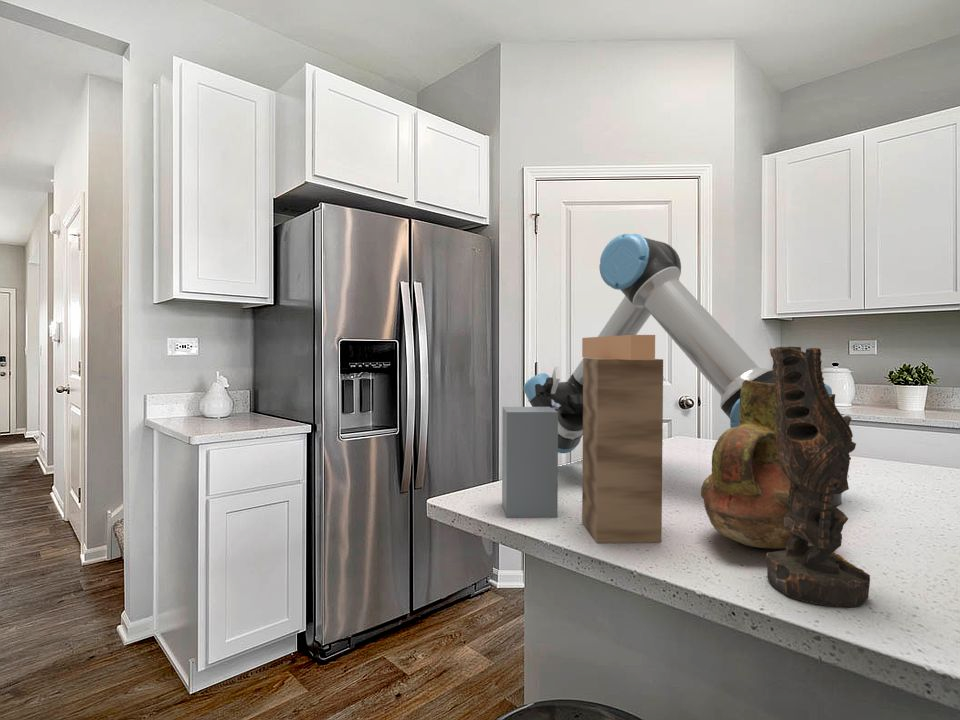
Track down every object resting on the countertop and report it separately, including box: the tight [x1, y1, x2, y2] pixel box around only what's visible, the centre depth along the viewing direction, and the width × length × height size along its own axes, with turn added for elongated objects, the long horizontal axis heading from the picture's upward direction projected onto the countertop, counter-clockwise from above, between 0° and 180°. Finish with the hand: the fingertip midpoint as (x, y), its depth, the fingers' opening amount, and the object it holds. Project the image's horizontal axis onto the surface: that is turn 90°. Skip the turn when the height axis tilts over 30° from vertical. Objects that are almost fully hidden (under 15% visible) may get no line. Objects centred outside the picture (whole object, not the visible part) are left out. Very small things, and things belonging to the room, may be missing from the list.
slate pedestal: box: [501, 406, 559, 519], centre depth 104 cm, size 9×9×18 cm
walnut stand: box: [581, 357, 664, 544], centre depth 91 cm, size 10×10×28 cm
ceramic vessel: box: [700, 380, 830, 550], centre depth 87 cm, size 17×26×25 cm, turn 131°
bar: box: [581, 334, 656, 360], centre depth 94 cm, size 25×4×4 cm, turn 6°
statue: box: [765, 346, 871, 608], centre depth 70 cm, size 10×10×30 cm
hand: (592, 372), depth 109 cm, fingers open, 13 cm apart
